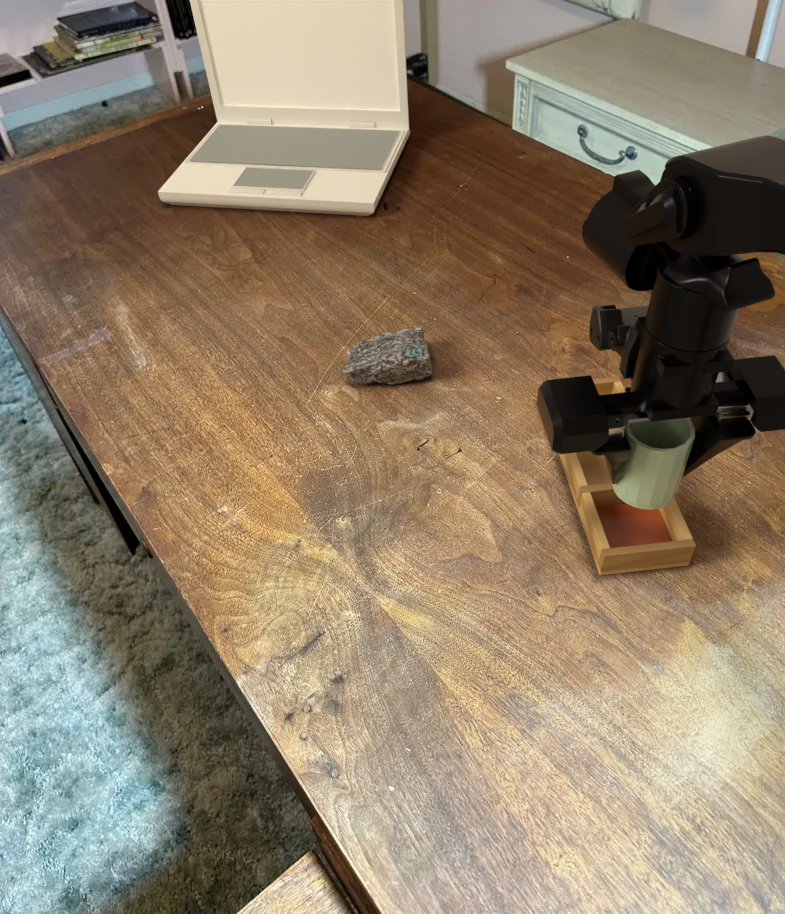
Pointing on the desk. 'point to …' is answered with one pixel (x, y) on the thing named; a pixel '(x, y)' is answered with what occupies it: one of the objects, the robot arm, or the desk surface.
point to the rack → (623, 516)
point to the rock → (390, 358)
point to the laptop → (298, 106)
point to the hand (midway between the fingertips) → (646, 476)
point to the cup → (655, 462)
